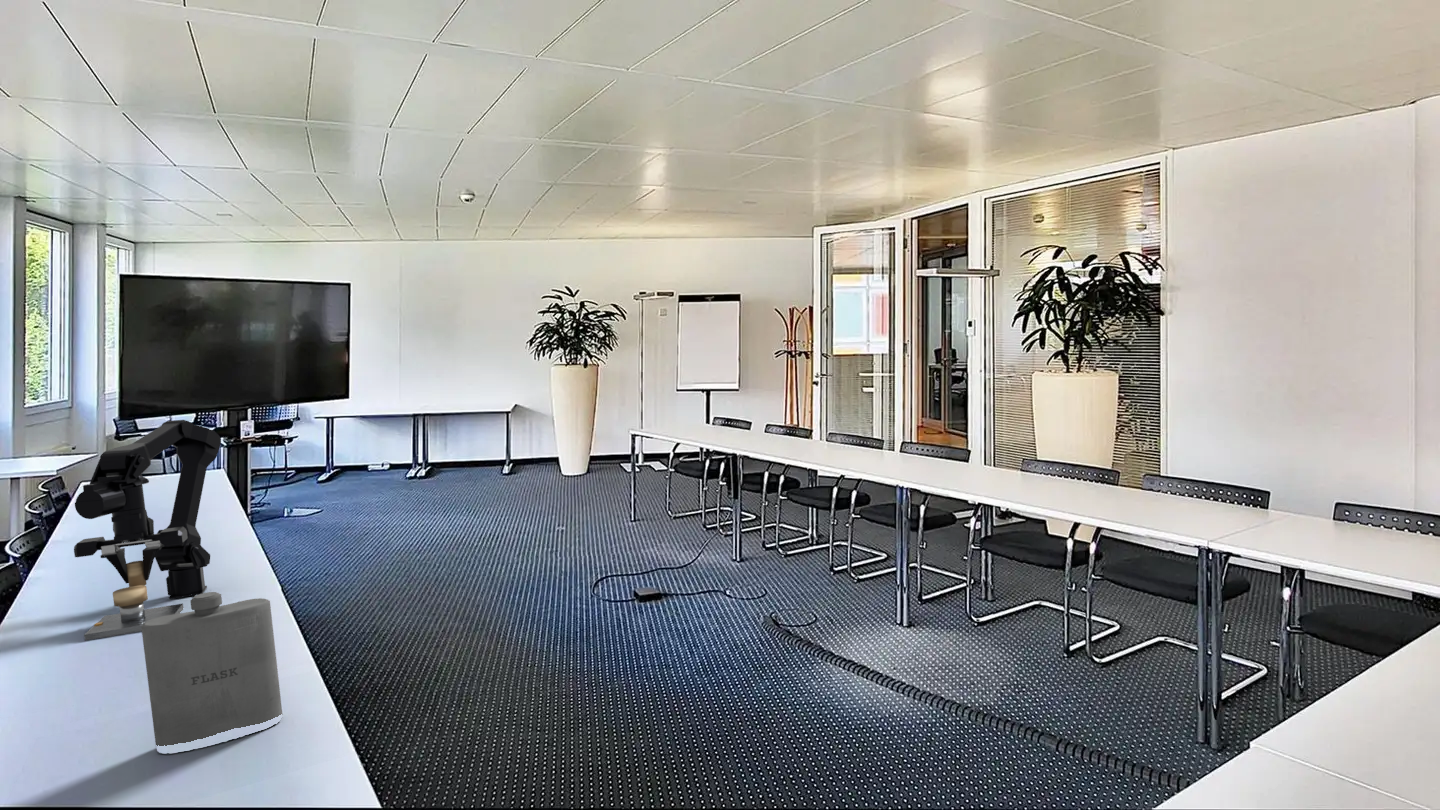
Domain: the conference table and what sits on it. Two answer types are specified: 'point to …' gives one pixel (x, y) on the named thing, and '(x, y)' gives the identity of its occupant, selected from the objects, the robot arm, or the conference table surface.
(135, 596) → the crank handle
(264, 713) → the flask
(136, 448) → the robot arm
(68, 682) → the conference table surface
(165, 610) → the base
